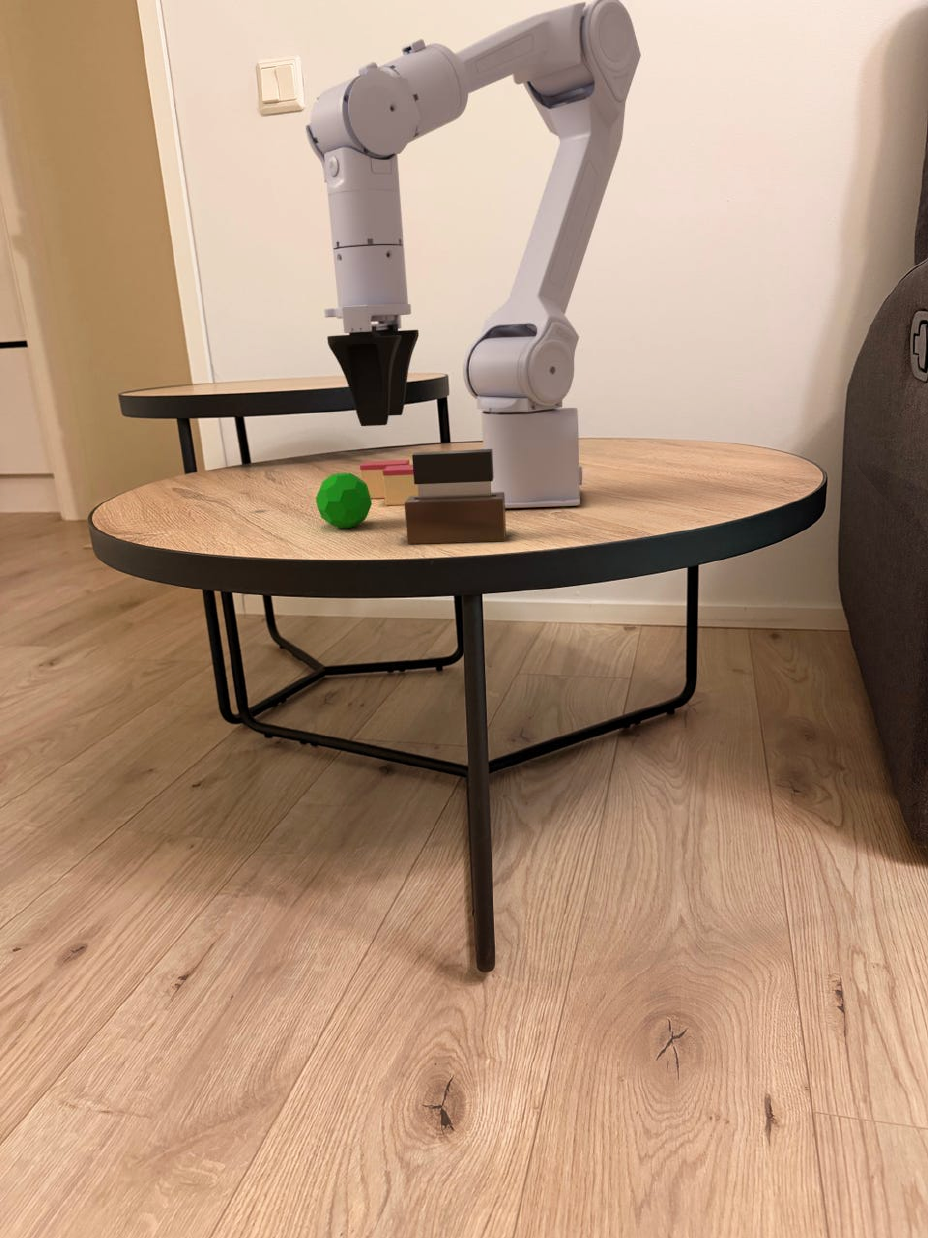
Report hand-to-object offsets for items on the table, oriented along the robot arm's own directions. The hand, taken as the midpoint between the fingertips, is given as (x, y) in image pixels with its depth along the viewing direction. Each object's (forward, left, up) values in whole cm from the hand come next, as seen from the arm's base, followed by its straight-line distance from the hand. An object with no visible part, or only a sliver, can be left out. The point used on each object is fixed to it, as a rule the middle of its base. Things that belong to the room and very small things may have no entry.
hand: (382, 420), depth 78 cm
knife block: (-6, +4, -10) cm, 12 cm away
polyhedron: (+5, -2, -10) cm, 11 cm away
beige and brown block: (-6, +4, -10) cm, 12 cm away
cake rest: (0, -13, -10) cm, 16 cm away
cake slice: (+3, -17, -10) cm, 20 cm away
